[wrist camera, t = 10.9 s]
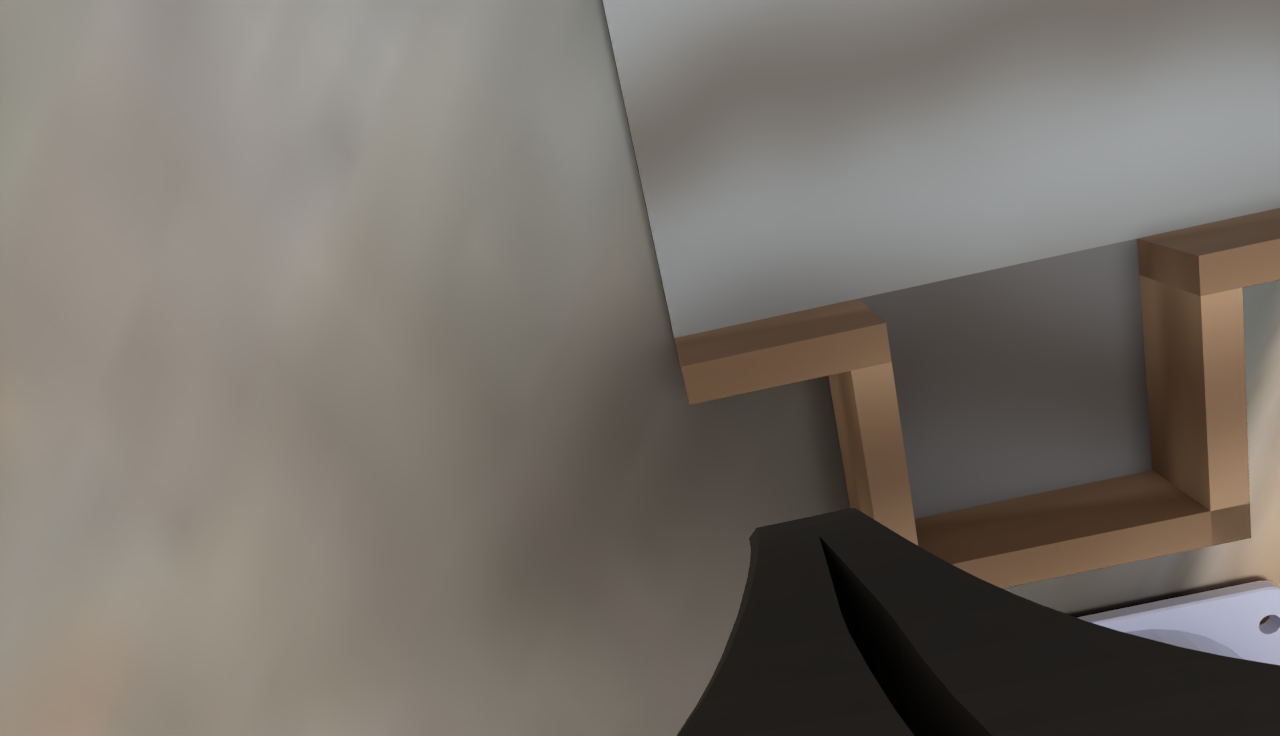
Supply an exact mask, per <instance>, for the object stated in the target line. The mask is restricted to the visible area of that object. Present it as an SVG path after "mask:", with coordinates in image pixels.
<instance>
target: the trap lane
mask: <svg viewBox="0 0 1280 736" xmlns="http://www.w3.org/2000/svg"><path fill="white" fill-rule="evenodd" d="M603 5H604V10H605V14H606V19H607V24H608V28H609V33H610V38H611V43H612V47H613V52H614V57H615V61H616V66H617V71H618V76H619V80H620V85H621V90H622V94H623V99H624V104H625V109H626V113H627V118H628V123H629V127H630V132H631V137H632V142H633V146H634V151H635V156H636V160H637V165H638V170H639V175H640V179H641V184H642V189H643V193H644V198H645V203H646V208H647V212H648V217H649V222H650V226H651V231H652V236H653V241H654V245H655V250H656V255H657V259H658V264H659V269H660V274H661V278H662V283H663V288H664V292H665V297H666V302H667V307H668V311H669V316H670V321H671V325H672V330H673V335H674V340H675V344H676V349H677V354H678V358H679V363H680V368H681V372H682V376H683V380H684V384H685V388H686V393H687V397H688V401H689V405H692V404H697V403H702V402H706V401H711V400H716V399H721V398H725V397H730V396H735V395H739V394H744V393H749V392H754V391H758V390H763V389H768V388H772V387H777V386H782V385H786V384H791V383H796V382H801V381H805V380H810V379H815V378H819V377H824V376H828V377H829V383H830V389H831V395H832V401H833V407H834V413H835V419H836V425H837V432H838V438H839V444H840V450H841V456H842V462H843V468H844V474H845V480H846V486H847V492H848V498H849V504H850V509H851V508H856V509H857V510H859V511H861V512H863V513H864V514H866V515H868V516H869V517H871V518H873V519H874V520H876V521H877V522H879V523H881V524H882V525H884V526H886V527H887V528H889V529H890V530H892V531H894V532H895V533H897V534H899V535H900V536H902V537H904V538H905V539H907V540H909V541H911V542H912V543H914V544H916V545H917V546H919V547H921V548H923V549H924V550H926V551H928V552H930V553H932V554H933V555H935V556H937V557H939V558H941V559H942V560H944V561H946V562H948V563H950V564H952V565H954V566H956V567H958V568H960V569H962V570H964V571H966V572H968V573H970V574H971V575H973V576H976V577H978V578H980V579H982V580H984V581H986V582H989V583H991V584H993V585H995V586H997V587H999V588H1007V587H1012V586H1017V585H1022V584H1026V583H1031V582H1036V581H1041V580H1046V579H1051V578H1056V577H1061V576H1066V575H1071V574H1076V573H1080V572H1085V571H1090V570H1095V569H1100V568H1105V567H1110V566H1115V565H1120V564H1125V563H1130V562H1135V561H1139V560H1144V559H1149V558H1154V557H1159V556H1164V555H1169V554H1174V553H1179V552H1184V551H1189V550H1194V549H1198V548H1203V547H1208V546H1213V545H1218V544H1223V543H1228V542H1233V541H1238V540H1243V539H1248V538H1251V527H1250V498H1249V469H1248V439H1247V410H1246V380H1245V351H1244V322H1243V292H1242V288H1243V287H1247V286H1252V285H1257V284H1261V283H1266V282H1271V281H1276V280H1280V0H603Z"/></svg>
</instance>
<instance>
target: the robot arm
mask: <svg viewBox="0 0 1280 736" xmlns="http://www.w3.org/2000/svg"><path fill="white" fill-rule="evenodd" d="M749 540H750V545H751V559H750V567H749V572H748V578H747V583H746V586H745V590H744V594H743V598H742V602H741V605H740V609H739V612H738V616H737V619H736V621H735V624H734V626H733V629H732V632H731V634H730V637H729V640H728V642H727V645H726V647H725V650H724V653H723V655H722V657H721V659H720V662H719V664H718V666H717V668H716V670H715V672H714V674H713V676H712V678H711V680H710V682H709V684H708V686H707V688H706V689H705V691H704V693H703V695H702V697H701V698H700V700H699V702H698V704H697V705H696V707H695V708H694V710H693V712H692V713H691V715H690V716H689V718H688V719H687V721H686V722H685V724H684V725H683V727H682V728H681V730H680V731H679V733H678V735H677V736H1280V587H1279V586H1277V585H1276V584H1275V583H1273V582H1270V581H1267V580H1266V581H1255V582H1250V583H1245V584H1240V585H1235V586H1230V587H1226V588H1221V589H1216V590H1211V591H1206V592H1201V593H1196V594H1191V595H1186V596H1181V597H1176V598H1171V599H1166V600H1161V601H1156V602H1151V603H1146V604H1141V605H1136V606H1131V607H1126V608H1121V609H1116V610H1112V611H1107V612H1102V613H1097V614H1092V615H1087V616H1082V617H1077V618H1076V617H1073V616H1071V615H1068V614H1065V613H1062V612H1059V611H1056V610H1054V609H1051V608H1048V607H1045V606H1042V605H1040V604H1037V603H1034V602H1032V601H1030V600H1027V599H1025V598H1022V597H1020V596H1017V595H1015V594H1013V593H1010V592H1008V591H1006V590H1004V589H1002V588H999V587H997V586H995V585H993V584H991V583H989V582H986V581H984V580H982V579H980V578H978V577H976V576H973V575H971V574H970V573H968V572H966V571H964V570H962V569H960V568H958V567H956V566H954V565H952V564H950V563H948V562H946V561H944V560H942V559H941V558H939V557H937V556H935V555H933V554H932V553H930V552H928V551H926V550H924V549H923V548H921V547H919V546H917V545H916V544H914V543H912V542H911V541H909V540H907V539H905V538H904V537H902V536H900V535H899V534H897V533H895V532H894V531H892V530H890V529H889V528H887V527H886V526H884V525H882V524H881V523H879V522H877V521H876V520H874V519H873V518H871V517H869V516H868V515H866V514H864V513H863V512H861V511H859V510H857V509H856V508H851V509H846V510H841V511H836V512H831V513H827V514H822V515H817V516H812V517H807V518H802V519H798V520H793V521H788V522H783V523H778V524H774V525H769V526H764V527H759V528H756V530H755V531H754V532H753V534H752V535H751V536H750V538H749ZM1268 615H1270V616H1269V619H1268V620H1267V621H1266V622H1265V623H1263V624H1261V625H1259V624H1260V621H1261V620H1262V619H1263V618H1264V617H1266V616H1268Z"/></svg>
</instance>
